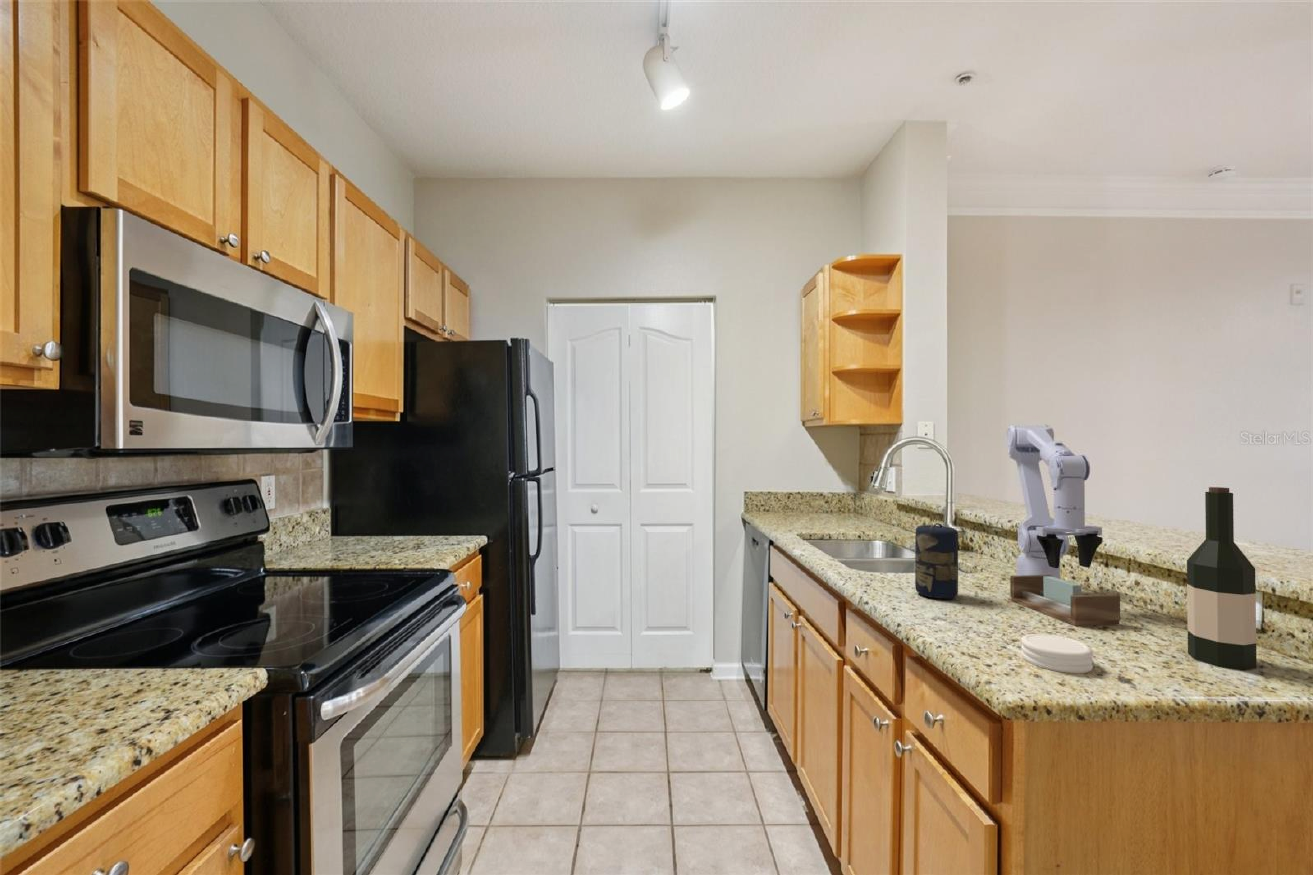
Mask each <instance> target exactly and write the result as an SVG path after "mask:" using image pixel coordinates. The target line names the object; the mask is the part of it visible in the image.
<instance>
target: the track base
mask: <svg viewBox="0 0 1313 875" xmlns="http://www.w3.org/2000/svg"><path fill="white" fill-rule="evenodd" d="M1047 576H1051V575H1020V576H1017V575H1010V576H1009V578H1010V579H1009V583H1010V584H1009V585H1010V587H1009V589H1010V590H1009V591H1010V592H1009V593H1010V601H1011V602H1012V603H1015V604H1017V605H1020V606H1023V607H1025V608H1028V609H1030V610H1032V611H1036V612H1039V613H1040V614H1043V615H1046V616H1049V617H1052V618H1054V619H1056V620H1059V621H1062V622H1064V623H1066V624H1068V625H1071V626H1074V627H1081V626H1112V625H1113V626H1114V625H1118V626H1119V625H1120V621H1121V596H1120V595H1118V594H1111V593H1110V594H1108V593H1107V594H1081V595H1070V598H1071V607H1070V606H1068V605H1065V604H1062V603H1059V602H1056V601H1053V600H1051V599H1048V598H1045V597H1044V583H1043V577H1047ZM1052 577H1053V576H1052Z"/></svg>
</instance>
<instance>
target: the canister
mask: <svg viewBox="0 0 1313 875" xmlns="http://www.w3.org/2000/svg"><path fill="white" fill-rule="evenodd" d="M914 539H915V541H914V542H915V546H914V550H915V551H914V564H915V565H914V574H915V575H914V576H915V577H914V581H915V582H914V585H915V587H914V588H915V591H916V592H917V593H918V594H920V595H922V596H925V597H929V598H935V599H953V598H955V597H957V596H958V595H959V532H958V530H957V529H956V528H954V527H951V526H944V525H942V524H941V523H939V522H936V523H934V524H933V525H932V524H931V525H930V524H927V525H925V524H924V525H923V524H922V525H919V526H917V527H916V528H915V538H914Z"/></svg>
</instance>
